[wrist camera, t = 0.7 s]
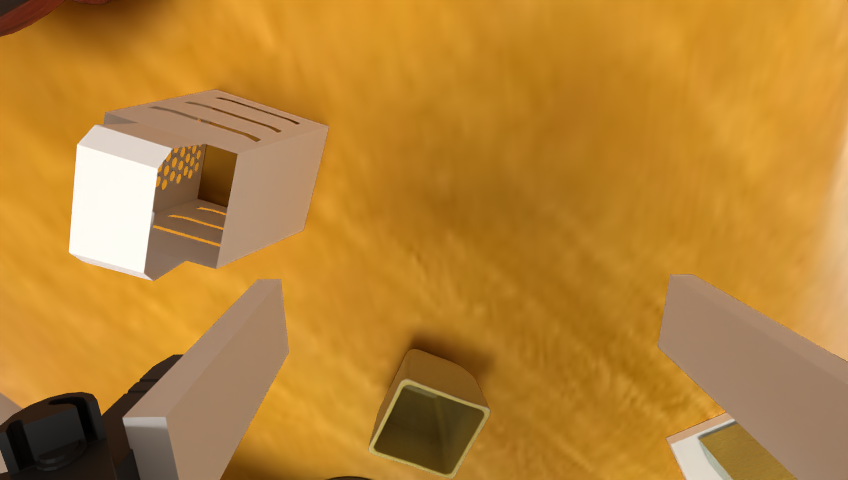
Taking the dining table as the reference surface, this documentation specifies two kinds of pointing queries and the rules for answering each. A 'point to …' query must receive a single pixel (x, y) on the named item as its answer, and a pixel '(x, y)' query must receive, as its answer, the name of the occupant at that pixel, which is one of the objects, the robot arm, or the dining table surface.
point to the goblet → (28, 12)
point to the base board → (697, 448)
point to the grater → (189, 184)
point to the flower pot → (429, 415)
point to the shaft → (741, 456)
